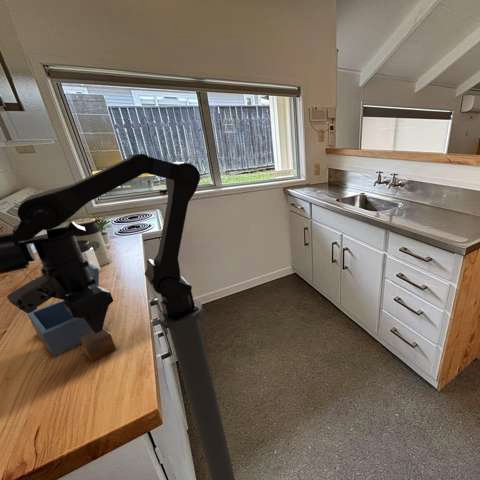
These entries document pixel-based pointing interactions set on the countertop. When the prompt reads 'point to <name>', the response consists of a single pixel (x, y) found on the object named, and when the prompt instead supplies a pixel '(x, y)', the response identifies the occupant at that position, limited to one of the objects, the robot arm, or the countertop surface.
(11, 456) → the countertop surface
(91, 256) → the jar
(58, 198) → the robot arm
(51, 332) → the chest
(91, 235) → the travel mug
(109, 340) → the block
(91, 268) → the lid
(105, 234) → the house plant
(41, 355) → the countertop surface
